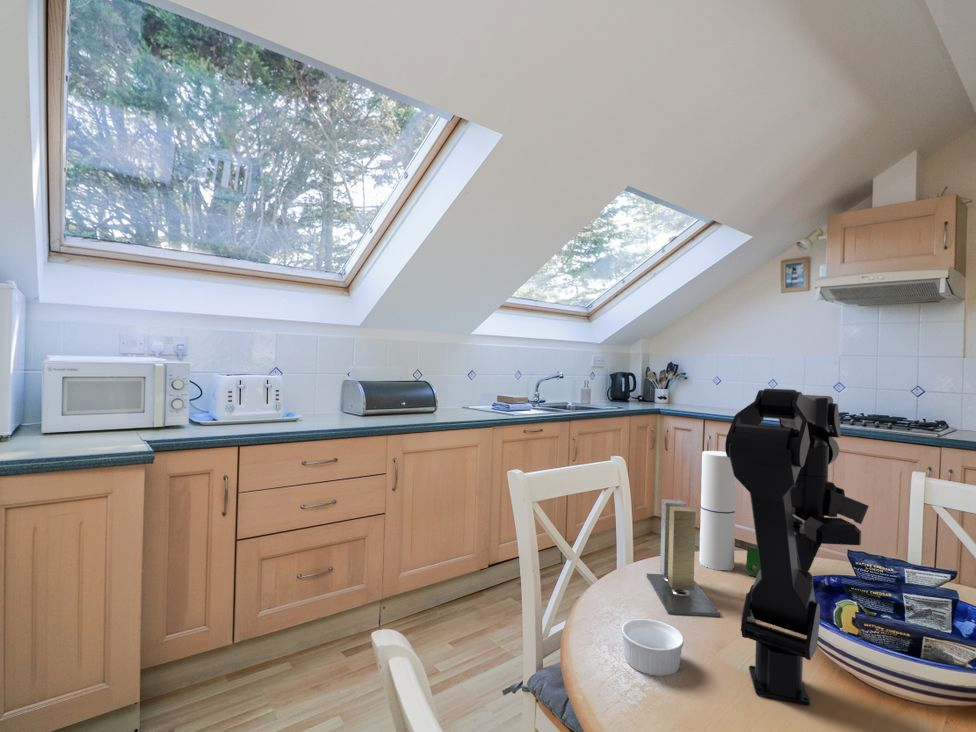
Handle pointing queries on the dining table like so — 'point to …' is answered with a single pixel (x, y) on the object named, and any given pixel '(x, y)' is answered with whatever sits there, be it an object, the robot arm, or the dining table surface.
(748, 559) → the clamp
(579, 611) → the dining table surface
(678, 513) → the sliding leg
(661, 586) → the bolt plate
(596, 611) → the dining table surface
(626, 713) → the dining table surface
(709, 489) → the cylindrical container
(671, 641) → the ramekin
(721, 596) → the dining table surface
